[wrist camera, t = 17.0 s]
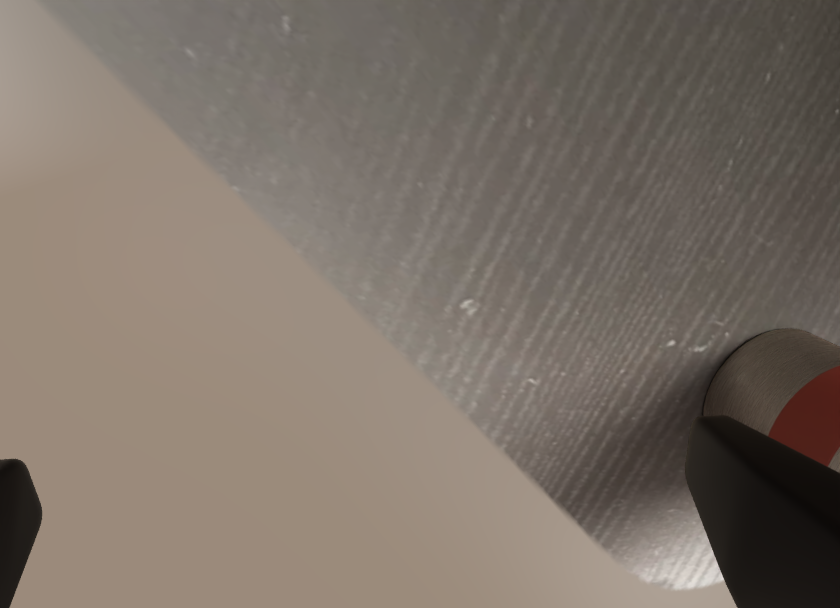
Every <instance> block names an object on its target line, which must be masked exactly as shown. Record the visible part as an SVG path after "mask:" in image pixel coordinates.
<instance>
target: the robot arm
mask: <svg viewBox="0 0 840 608" xmlns="http://www.w3.org/2000/svg"><path fill="white" fill-rule="evenodd" d="M685 475H686V480H687V484H688V486H689V489H690V492H691V494H692V497H693V500H694V502H695V505H696V507H697V510H698V513H699V515H700V518H701V521H702V523H703V526H704V529H705V531H706V534H707V536H708V539H709V542H710V544H711V547H712V550H713V552H714V555H715V557H716V560H717V563H718V565H719V568H720V570H721V573H722V575H723V578H724V580H725V582H726V585H727V587H728V589H729V591H730V593H731V595H732V597H733V599H734V601H735V604H736V605H737V607H738V608H840V473H839V472H837V471H835V470H833V469H831V468H829V467H827V466H825V465H823V464H821V463H819V462H817V461H815V460H814V459H812V458H810V457H808V456H806V455H804V454H802V453H800V452H798V451H796V450H794V449H792V448H790V447H788V446H786V445H784V444H782V443H780V442H778V441H776V440H774V439H772V438H770V437H768V436H766V435H764V434H762V433H761V432H759V431H757V430H755V429H753V428H751V427H749V426H747V425H745V424H743V423H741V422H739V421H737V420H735V419H733V418H731V417H729V416H726V415H714V416H699V417H697V418H696V419H694V421H693V423H692V425H691V430H690V436H689V443H688V449H687V456H686V462H685ZM41 520H42V507H41V503H40V501H39V498H38V495H37V493H36V490H35V487H34V485H33V482H32V479H31V477H30V474H29V471H28V469H27V467H26V465H25V464H24V463H23V462H22V461H21V460H18V459H4V460H0V608H9V607H10V605H11V602H12V599H13V597H14V594H15V591H16V588H17V586H18V583H19V581H20V578H21V575H22V573H23V570H24V568H25V565H26V562H27V559H28V556H29V554H30V552H31V549H32V546H33V544H34V541H35V538H36V536H37V533H38V531H39V528H40V524H41Z"/></svg>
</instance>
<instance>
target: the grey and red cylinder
mask: <svg viewBox="0 0 840 608" xmlns="http://www.w3.org/2000/svg"><path fill="white" fill-rule="evenodd" d="M714 415H726V416H729V417H731V418H733V419H735V420H737V421H739V422H741V423H743V424H745V425H747V426H749V427H751V428H753V429H755V430H757V431H759V432H761V433H762V434H764V435H766V436H768V437H770V438H772V439H774V440H776V441H778V442H780V443H782V444H784V445H786V446H788V447H790V448H792V449H794V450H796V451H798V452H800V453H802V454H804V455H806V456H808V457H810V458H812V459H814V460H815V461H817V462H819V463H821V464H823V465H825V466H827V467H829V468H831V469H833V470H835V471H837V472H839V473H840V346H837V345H835V344H833V343H831V342H829V341H826V340H824V339H822V338H820V337H818V336H815V335H813V334H811V333H809V332H806V331H803V330H799V329H779V330H773V331H770V332H767V333H764V334H762V335H759V336H757V337H755V338H753V339H752V340H750V341H748V342H747V343H745V344H744V345H743V346H741V347H740V348H739V349H737V350H736V351H735V352H734V353H733V354H732V355H731V356H730V357H729V358H728V359H727V360H726V361H725V363H724V364H723V365H722V367H721V368H720V369H719V371H718V372H717V374H716V375H715V377H714V379H713V381H712V383H711V385H710V387H709V389H708V392H707V395H706V398H705V403H704V408H703V416H714Z"/></svg>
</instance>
